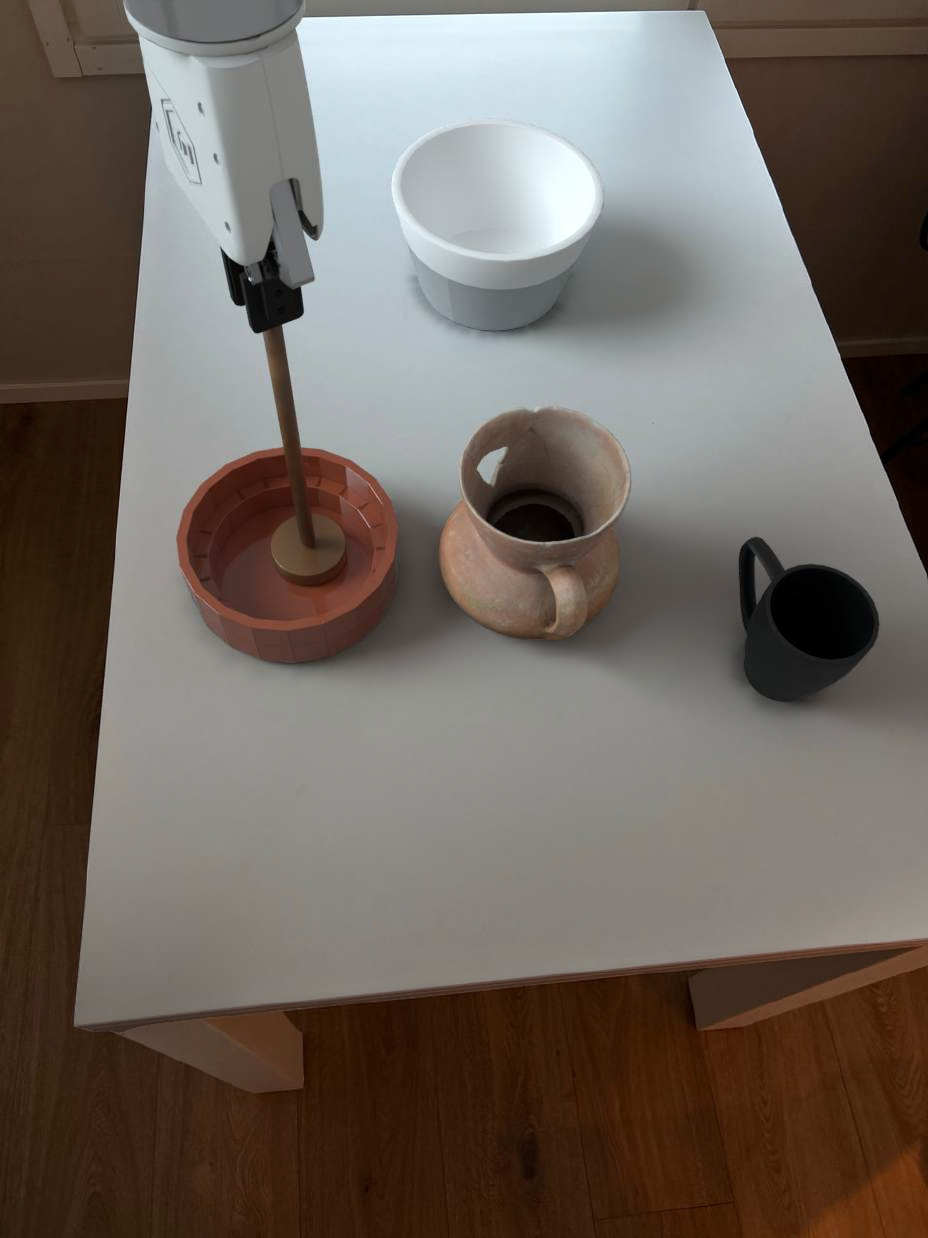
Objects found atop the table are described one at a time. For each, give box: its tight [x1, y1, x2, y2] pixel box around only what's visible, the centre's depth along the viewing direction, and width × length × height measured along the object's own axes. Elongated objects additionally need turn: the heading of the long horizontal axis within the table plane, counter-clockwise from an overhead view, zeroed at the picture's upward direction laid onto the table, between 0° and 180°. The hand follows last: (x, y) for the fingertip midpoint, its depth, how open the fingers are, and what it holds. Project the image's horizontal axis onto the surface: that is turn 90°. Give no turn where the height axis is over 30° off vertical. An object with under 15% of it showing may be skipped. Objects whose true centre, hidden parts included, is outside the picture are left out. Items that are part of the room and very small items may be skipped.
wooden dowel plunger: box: [243, 241, 347, 586], centre depth 65 cm, size 6×6×32 cm
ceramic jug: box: [438, 404, 632, 641], centre depth 73 cm, size 18×14×14 cm
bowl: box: [390, 118, 605, 332], centre depth 91 cm, size 19×19×11 cm
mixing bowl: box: [175, 446, 400, 664], centre depth 76 cm, size 17×17×6 cm
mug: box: [738, 536, 880, 703], centre depth 73 cm, size 8×12×10 cm
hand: (267, 307), depth 56 cm, fingers closed on wooden dowel plunger
